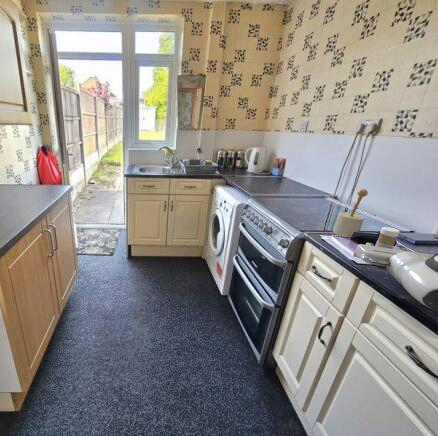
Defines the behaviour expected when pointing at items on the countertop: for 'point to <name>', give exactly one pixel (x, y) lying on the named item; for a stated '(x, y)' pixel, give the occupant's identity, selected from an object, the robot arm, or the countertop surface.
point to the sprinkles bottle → (387, 238)
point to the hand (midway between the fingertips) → (385, 247)
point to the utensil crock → (350, 219)
